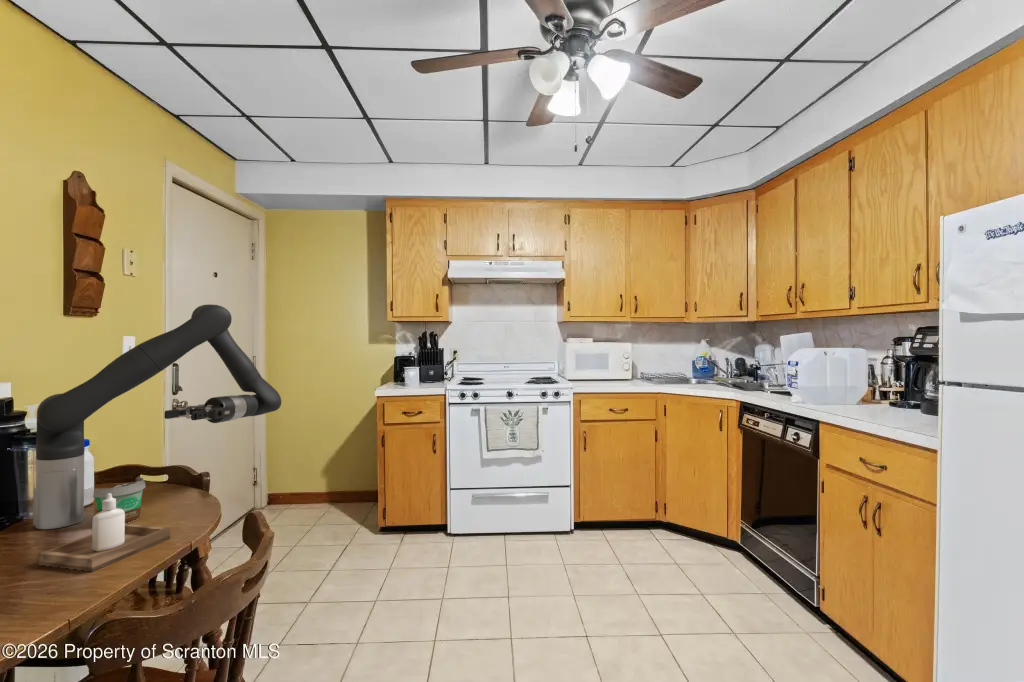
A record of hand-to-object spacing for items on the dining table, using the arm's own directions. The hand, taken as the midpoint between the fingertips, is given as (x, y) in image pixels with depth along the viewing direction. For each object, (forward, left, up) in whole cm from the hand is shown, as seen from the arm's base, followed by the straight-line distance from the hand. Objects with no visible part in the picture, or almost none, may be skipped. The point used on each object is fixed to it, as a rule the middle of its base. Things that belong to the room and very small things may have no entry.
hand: (178, 415), depth 133 cm
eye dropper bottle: (+3, -21, -27) cm, 34 cm away
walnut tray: (+3, -21, -27) cm, 34 cm away
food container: (-11, -5, -28) cm, 30 cm away
